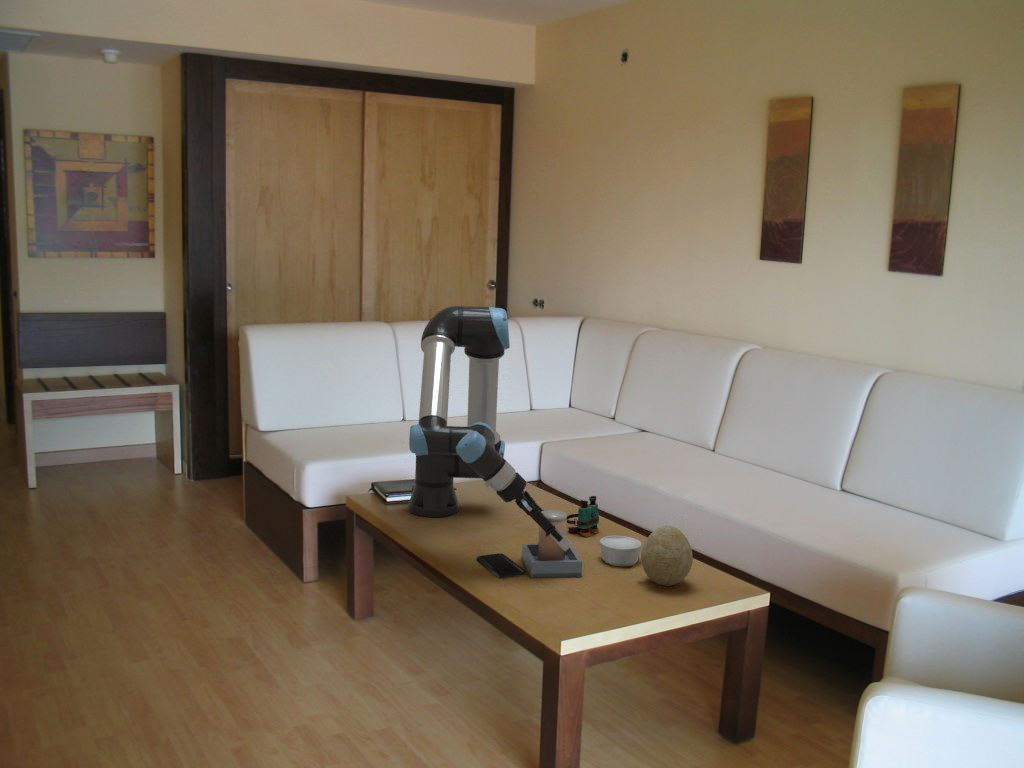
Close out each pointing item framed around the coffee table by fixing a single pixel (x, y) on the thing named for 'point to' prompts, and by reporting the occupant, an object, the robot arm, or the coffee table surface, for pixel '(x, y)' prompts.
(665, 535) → the fossilized egg
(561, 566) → the tray
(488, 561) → the phone
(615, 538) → the ramekin
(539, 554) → the beige round cylinder
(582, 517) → the binoculars
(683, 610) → the coffee table surface
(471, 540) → the coffee table surface
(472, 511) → the coffee table surface
